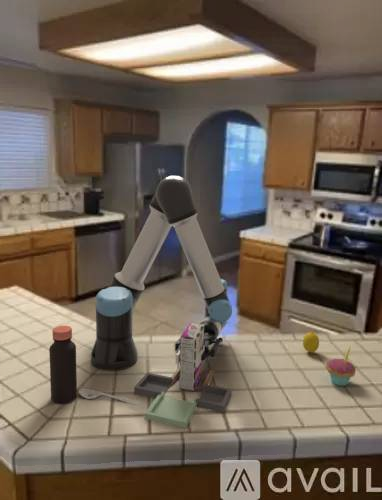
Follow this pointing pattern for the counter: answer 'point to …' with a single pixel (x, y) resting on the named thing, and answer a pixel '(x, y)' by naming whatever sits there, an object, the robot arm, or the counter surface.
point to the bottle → (63, 366)
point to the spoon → (86, 392)
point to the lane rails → (204, 381)
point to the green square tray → (171, 411)
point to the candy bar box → (191, 356)
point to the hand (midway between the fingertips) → (186, 360)
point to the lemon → (311, 342)
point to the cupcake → (340, 370)
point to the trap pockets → (209, 399)
